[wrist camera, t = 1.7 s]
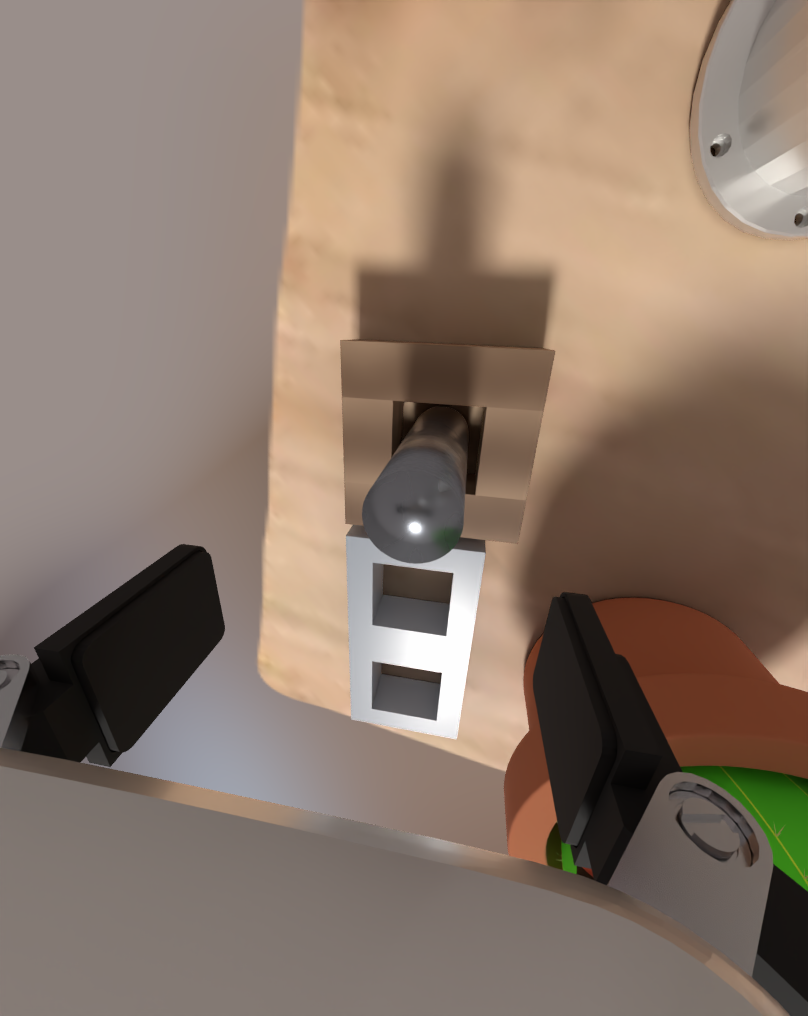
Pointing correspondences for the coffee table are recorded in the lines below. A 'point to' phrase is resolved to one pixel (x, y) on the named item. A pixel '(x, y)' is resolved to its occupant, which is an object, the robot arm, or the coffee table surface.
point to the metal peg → (421, 490)
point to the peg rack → (410, 638)
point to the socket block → (454, 381)
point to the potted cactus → (685, 730)
